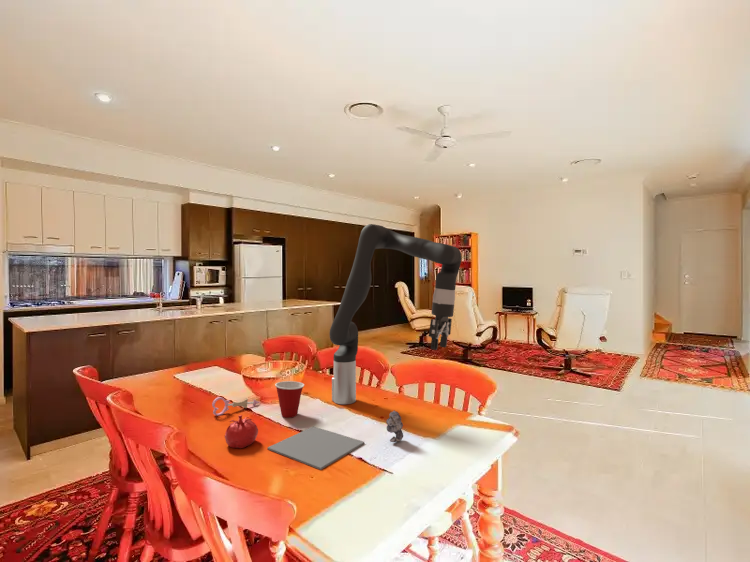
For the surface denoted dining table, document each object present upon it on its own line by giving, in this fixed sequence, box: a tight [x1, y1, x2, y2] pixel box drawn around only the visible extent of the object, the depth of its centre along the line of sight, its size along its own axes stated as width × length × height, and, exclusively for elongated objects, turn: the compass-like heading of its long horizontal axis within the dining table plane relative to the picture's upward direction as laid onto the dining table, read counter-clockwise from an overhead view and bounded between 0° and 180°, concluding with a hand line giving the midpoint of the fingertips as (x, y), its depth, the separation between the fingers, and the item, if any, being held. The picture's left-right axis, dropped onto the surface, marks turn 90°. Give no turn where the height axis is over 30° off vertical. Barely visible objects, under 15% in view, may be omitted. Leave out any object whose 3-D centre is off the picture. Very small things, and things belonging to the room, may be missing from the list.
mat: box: [267, 425, 365, 471], centre depth 123 cm, size 22×20×1 cm
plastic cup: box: [274, 380, 305, 419], centre depth 150 cm, size 11×11×12 cm
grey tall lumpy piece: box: [385, 410, 404, 443], centre depth 127 cm, size 5×5×10 cm
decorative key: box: [211, 396, 261, 417], centre depth 156 cm, size 7×1×20 cm
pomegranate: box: [224, 414, 259, 449], centre depth 125 cm, size 10×10×9 cm
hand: (438, 348), depth 139 cm, fingers open, 8 cm apart
